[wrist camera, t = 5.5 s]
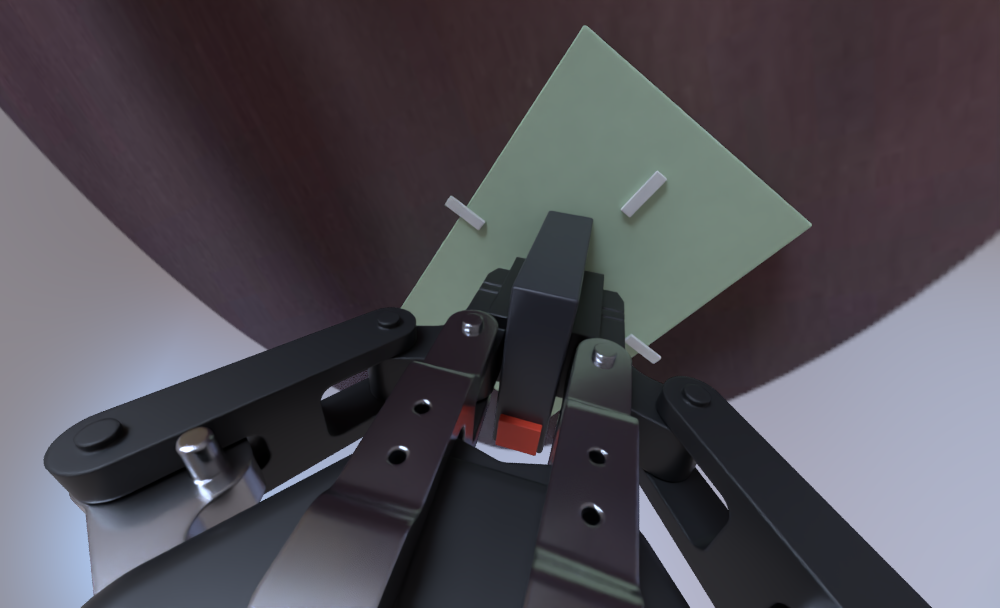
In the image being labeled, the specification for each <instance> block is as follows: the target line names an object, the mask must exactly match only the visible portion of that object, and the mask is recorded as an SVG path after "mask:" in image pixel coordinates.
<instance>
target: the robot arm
mask: <svg viewBox="0 0 1000 608" xmlns="http://www.w3.org/2000/svg"><path fill="white" fill-rule="evenodd" d="M525 259H526V258H521V257H516V259H515V261H514V263H513V265H512V267H511V269H510V270H507V269H503V268H497V269H495V270H494V271H492V272H490V273H488V275H487V277H486V278H485V280H484V281H483V283H482V285H481V286H480V288H479V290H478V291H477V293H476V294H475V296H474V298H473V299H472V301H471V303H470V304H469V306H468V308H467V309H466V310H462V311H459V312H456V313H454V314H452V315H451V316H450V317H449V318H448V320H447V321H446V323H445V325H439V326H417V325H416V318H415V316H414V315H413V314H412V313H411V312H409V311H407V310H405V309H402V308H395V307H388V308H381V309H378V310H375V311H372V312H369V313H366V314H364V315H361V316H358V317H356V318H353V319H350V320H348V321H345V322H342V323H340V324H337V325H334V326H331V327H329V328H326V329H323V330H321V331H318V332H315V333H313V334H310V335H307V336H305V337H302V338H299V339H297V340H294V341H291V342H288V343H286V344H283V345H280V346H278V347H275V348H272V349H270V350H267V351H264V352H262V353H259V354H256V355H254V356H251V357H248V358H245V359H243V360H240V361H238V362H235V363H232V364H229V365H227V366H224V367H221V368H218V369H216V370H213V371H211V372H208V373H205V374H203V375H200V376H197V377H194V378H192V379H189V380H186V381H184V382H181V383H178V384H175V385H173V386H170V387H168V388H165V389H162V390H160V391H157V392H154V393H151V394H149V395H146V396H143V397H140V398H138V399H135V400H133V401H130V402H127V403H124V404H122V405H119V406H116V407H114V408H111V409H108V410H106V411H103V412H100V413H98V414H95V415H93V416H90V417H88V418H86V419H84V420H82V421H80V422H79V423H77V424H75V425H73V426H72V427H71V428H69V429H68V430H66V431H65V432H64V433H62V434H61V435H60V436H59V437H58V438H57V439H56V440H55V441H54V442H53V443H52V444H51V445H50V447H49V448H48V450H47V452H46V453H45V456H44V466H45V468H46V469H47V470H48V471H49V472H50V473H51V474H52V475H53V476H54V477H55V479H57V481H58V482H59V483H60V484H61V485H62V486H63V487H64V488H65V489H66V490H67V491H68V492H69V495H70V497H71V499H72V501H73V502H74V503H75V504H76V505H77V506H78V507H79V508H80V509H81V510H82V511H83V512H84V513H85V514H86V522H87V532H88V542H89V552H90V562H91V572H92V583H93V593H94V596H93V597H92V598H91V599H90V600H89V601H88V602H86V603H85V604H84V605H83V606H82V607H81V608H690V607H689V605H688V603H687V602H686V600H685V599H684V597H683V596H682V594H681V592H680V591H679V589H678V588H677V586H676V585H675V583H674V582H673V580H672V579H671V577H670V575H669V574H668V572H667V571H666V569H665V568H664V566H663V564H662V563H661V561H660V560H659V558H658V557H657V555H656V553H655V552H654V551H653V549H652V547H651V546H650V544H649V543H648V541H647V540H646V538H645V537H644V535H643V534H642V533H641V532H640V530H639V485H640V486H641V488H642V489H643V491H644V493H645V494H646V496H647V497H648V499H649V501H650V502H651V504H652V506H653V507H654V509H655V510H656V512H657V514H658V515H659V517H660V519H661V520H662V522H663V524H664V525H665V527H666V528H667V530H668V532H669V533H670V535H671V537H672V538H673V540H674V541H675V543H676V545H677V546H678V548H679V549H680V551H681V553H682V554H683V556H684V558H685V559H686V561H687V563H688V564H689V566H690V567H691V569H692V571H693V572H694V574H695V576H696V577H697V579H698V580H699V582H700V584H701V585H702V587H703V588H704V590H705V592H706V593H707V595H708V596H709V598H710V600H711V601H712V603H713V605H714V606H715V608H932V607H931V606H930V605H929V604H928V603H927V602H926V601H925V600H924V599H923V598H922V597H921V596H920V595H919V594H918V593H917V592H916V591H915V590H914V589H913V588H912V587H911V586H910V585H909V584H908V583H907V582H906V581H905V580H904V579H903V578H902V577H901V576H900V575H899V574H898V573H897V572H896V571H895V570H894V569H893V568H892V567H891V566H890V565H889V564H888V563H887V562H886V561H885V560H884V559H883V558H882V557H881V556H880V555H879V554H878V553H877V552H876V551H875V550H874V549H873V548H872V547H871V546H870V545H869V544H868V543H867V542H866V541H865V540H864V539H863V538H862V537H861V536H860V535H859V534H858V533H857V532H856V531H855V530H854V529H853V528H852V527H851V526H850V525H849V524H848V523H847V522H846V521H845V520H844V519H843V518H842V517H841V516H840V515H839V514H838V513H837V512H836V511H835V510H834V509H833V508H832V507H831V506H830V505H829V504H828V503H827V502H826V501H825V500H824V499H823V498H822V497H821V496H820V495H819V493H818V492H816V491H815V489H814V488H813V487H812V486H811V485H810V484H809V483H808V482H807V481H805V479H804V478H802V476H801V475H799V473H797V471H796V470H795V469H794V468H792V467H791V465H790V464H789V463H788V462H787V461H786V460H785V459H784V458H783V457H782V456H781V455H780V454H779V453H778V452H777V451H776V450H775V449H774V448H773V447H772V446H771V445H770V444H769V443H768V442H767V441H766V440H765V439H764V438H763V437H762V436H761V435H760V434H759V433H758V432H757V431H756V430H755V429H754V428H753V427H752V426H751V425H750V424H749V423H748V422H747V421H746V420H745V419H744V418H743V417H742V416H741V415H740V414H739V413H738V412H737V411H736V410H735V409H734V408H733V407H732V406H731V405H730V404H729V403H728V402H727V401H726V400H725V399H724V398H723V397H722V396H721V395H720V394H719V393H718V392H717V391H716V390H715V389H713V388H712V387H711V386H709V385H707V384H706V383H704V382H702V381H700V380H697V379H694V378H691V377H685V376H675V377H671V378H669V379H668V380H667V381H665V383H664V384H662V383H660V382H657V381H655V380H653V379H651V378H649V377H647V376H645V375H644V374H642V373H640V372H639V371H638V370H636V369H635V368H634V367H633V366H632V359H631V356H630V355H629V353H628V352H627V351H626V350H625V322H624V321H625V314H624V301H623V300H622V298H621V297H620V295H619V294H618V292H613V291H609V290H604V289H603V286H604V274H600V273H595V272H590V271H584V277H583V282H582V288H581V294H580V299H579V304H578V308H577V312H576V316H575V321H574V325H573V329H572V333H571V337H570V341H569V345H568V349H567V353H566V357H565V361H564V365H563V369H562V373H561V377H560V381H559V385H558V389H557V393H556V397H559V398H563V399H562V405H561V410H560V413H559V417H558V421H557V425H556V430H555V434H554V439H553V443H552V448H551V452H550V457H549V461H548V465H543V464H525V463H506V462H501V461H498V460H496V459H494V458H493V457H491V456H489V455H487V454H486V453H484V452H482V451H480V450H479V449H477V448H475V446H476V443H477V440H478V437H479V434H480V431H481V428H482V425H483V421H484V418H485V415H486V412H487V409H488V406H489V403H490V398H491V393H492V391H493V389H494V386H495V384H496V381H497V382H500V375H501V367H502V359H503V351H504V343H505V336H506V328H507V320H508V312H509V304H510V296H511V288H512V286H513V284H514V282H515V280H516V278H517V276H518V274H519V272H520V269H521V267H522V265H523V263H524V261H525ZM367 369H368V376H369V378H367V379H365V380H363V381H361V382H358V383H356V384H354V385H352V386H350V387H348V388H346V389H344V390H342V391H340V392H338V393H336V394H334V395H332V396H330V397H327V398H326V399H323V400H321V398H322V395H323V394H324V392H325V391H326V390H327V389H328V388H330V387H331V386H333V385H334V384H337V383H339V382H341V381H343V380H345V379H347V378H349V377H352V376H354V375H356V374H358V373H360V372H362V371H364V370H367ZM362 437H363V438H362ZM360 438H362V440H361V441H360V443H359V445H358V446H357V448H356V449H355V451H354V453H353V454H351V455H349V456H347V457H345V458H343V459H341V460H339V461H338V462H336V463H334V464H332V465H330V466H328V467H326V468H324V469H322V470H320V471H318V472H317V473H315V474H313V475H311V476H309V477H307V478H305V479H303V480H302V481H299V482H297V483H296V484H294V485H292V486H290V487H288V488H286V489H284V490H282V491H280V492H278V493H276V494H275V495H273V496H271V497H269V498H267V499H265V500H263V501H261V499H262V497H263V495H264V494H265V493H267V492H269V491H271V490H272V489H274V488H276V487H277V486H279V485H281V484H283V483H284V482H286V481H288V480H289V479H291V478H293V477H295V476H296V475H298V474H300V473H302V472H303V471H305V470H307V469H309V468H310V467H312V466H314V465H315V464H317V463H319V462H320V461H322V460H324V459H326V458H327V457H329V456H331V455H333V454H334V453H336V452H338V451H340V450H341V449H343V448H345V447H346V446H348V445H350V444H352V443H353V442H355V441H357V440H358V439H360ZM696 464H698V466H699V467H700V468H701V469H702V471H703V472H704V473H705V474H706V476H707V477H708V478H709V480H710V481H711V482H712V483H713V485H714V486H715V487H716V489H717V490H718V491H719V492H720V494H721V495H722V497H723V498H724V500H725V502H726V504H727V506H728V509H727V508H726V506H725V505H724V504H723V503H722V501H721V500H720V499H719V497H718V496H717V495H716V494H715V492H714V491H713V490H712V488H711V487H710V486H709V484H708V483H707V482H706V480H705V479H704V478H703V477H702V475H701V474H700V473H699V472H698V470H697V469H696V467H695V466H696ZM260 501H261V502H260Z"/></svg>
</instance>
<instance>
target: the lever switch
mask: <svg viewBox="0 0 1000 608" xmlns="http://www.w3.org/2000/svg"><path fill="white" fill-rule="evenodd" d="M445 205H446V206H447V207H448V208H450V209H451V210H452V211H454V212H455V213H456V214H458V215H459V216H460V217H459V219H458V220H457V222H456V224H455V225H454V227H453V228H452V230H451V231H450V233H449V234H448V236H447V237H446V239H445V241H444V242H443V244H442V245H441V247H440V248H439V250H438V251H437V253H436V254H435V256H434V257H433V259H432V261H431V262H430V264H429V265H428V267H427V268H426V270H425V271H424V273H423V274H422V276H421V278H420V279H419V281H418V282H417V284H416V285H415V287H414V288H413V290H412V291H411V293H410V295H409V296H408V298H407V299H406V301H405V302H404V304H403V305H402V307H401V308H402V309H405V310H407V311H409V312H411V313H412V314H413V315H414V316H415V318H416V325H417V326H439V325H445V323H446V321H447V320H448V318H449V317H450V316H451V315H452V314H454V313H456V312H459V311H462V310H466V309H467V308H468V306H469V304H470V303H471V301H472V299H473V298H474V296H475V294H476V293H477V291H478V290H479V288H480V286H481V285H482V283H483V281H484V280H485V278H486V277H487V275H488V273H490V272H492V271H494V270H495V269H497V268H503V269H507V270H510V269H511V267H512V265H513V263H514V261H515V259H516V257H521V258H526V257H527V255H528V253H529V251H530V249H531V247H532V245H533V243H534V241H535V239H536V237H537V235H538V233H539V230H540V228H541V226H542V224H543V222H544V220H545V218H546V216H547V214H548V212H549V211H556V212H561V213H567V214H573V215H578V216H584V217H589V218H592V219H593V226H592V232H591V237H590V243H589V248H588V254H587V260H586V265H585V271H590V272H595V273H600V274H604V286H603V289H604V290H609V291H613V292H618V294H619V295H620V297H621V298H622V300H623V301H624V314H625V321H624V322H625V350H626V351H627V352H628V353H629V355H630V356H631V358H632V357H633V356H635V355H636V354H637V353H640V354H641V355H642V356H644V357H645V358H646V359H648V360H649V361H650V362H651V363H653V364H654V363H656V362H657V361H659V360H660V359H661V356H660V355H659V354H657V353H656V352H655V351H653V350H652V349H651V348H649V347H648V345H650V344H651V343H652V342H654V341H655V340H657V339H658V338H659V337H661V336H662V335H663V334H665V333H666V332H668V331H669V330H670V329H672V328H673V327H674V326H676V325H677V324H679V323H680V322H681V321H683V320H684V319H685V318H687V317H688V316H689V315H691V314H692V313H694V312H695V311H696V310H698V309H699V308H700V307H702V306H703V305H705V304H706V303H707V302H709V301H710V300H711V299H713V298H714V297H716V296H717V295H718V294H720V293H721V292H722V291H724V290H725V289H727V288H728V287H729V286H731V285H732V284H733V283H735V282H736V281H737V280H739V279H740V278H742V277H743V276H744V275H746V274H747V273H748V272H750V271H751V270H753V269H754V268H755V267H757V266H758V265H759V264H761V263H762V262H764V261H765V260H766V259H768V258H769V257H770V256H772V255H773V254H775V253H776V252H777V251H779V250H780V249H781V248H783V247H784V246H785V245H787V244H788V243H790V242H791V241H792V240H794V239H795V238H796V237H798V236H799V235H801V234H802V233H803V232H805V231H806V230H807V229H809V228H810V227H811V226H812V225H811V223H810V222H809V221H808V220H806V219H805V218H804V217H803V216H802V215H801V214H800V213H799V212H797V211H796V210H795V209H794V208H793V207H792V206H791V205H789V204H788V203H787V202H786V201H785V200H784V199H783V198H782V197H780V196H779V195H778V194H777V193H776V192H775V191H774V190H772V189H771V188H770V187H769V186H768V185H767V184H766V183H764V182H763V181H762V180H761V179H760V178H759V177H758V176H757V175H755V174H754V173H753V172H752V171H751V170H750V169H749V168H747V167H746V166H745V165H744V164H743V163H742V162H741V161H740V160H738V159H737V158H736V157H735V156H734V155H733V154H732V153H730V152H729V151H728V150H727V149H726V148H725V147H724V146H723V145H721V144H720V143H719V142H718V141H717V140H716V139H715V138H713V137H712V136H711V135H710V134H709V133H708V132H707V131H706V130H704V129H703V128H702V127H701V126H700V125H699V124H698V123H696V122H695V121H694V120H693V119H692V118H691V117H690V116H688V115H687V114H686V113H685V112H684V111H683V110H682V109H681V108H679V107H678V106H677V105H676V104H675V103H674V102H673V101H671V100H670V99H669V98H668V97H667V96H666V95H665V94H664V93H662V92H661V91H660V90H659V89H658V88H657V87H656V86H654V85H653V84H652V83H651V82H650V81H649V80H648V79H647V78H645V77H644V76H643V75H642V74H641V73H640V72H639V71H637V70H636V69H635V68H634V67H633V66H632V65H631V64H630V63H628V62H627V61H626V60H625V59H624V58H623V57H622V56H620V55H619V54H618V53H617V52H616V51H615V50H614V49H613V48H611V47H610V46H609V45H608V44H607V43H606V42H605V41H603V40H602V39H601V38H600V37H599V36H598V35H597V34H595V33H594V32H593V31H592V30H591V29H590V28H589V27H588V26H583V27H582V29H581V31H580V32H579V34H578V35H577V37H576V38H575V40H574V41H573V43H572V44H571V46H570V48H569V49H568V51H567V52H566V54H565V55H564V57H563V58H562V60H561V61H560V63H559V65H558V66H557V68H556V69H555V71H554V72H553V74H552V75H551V77H550V78H549V80H548V82H547V83H546V85H545V86H544V88H543V89H542V91H541V92H540V94H539V95H538V97H537V98H536V100H535V102H534V103H533V105H532V106H531V108H530V109H529V111H528V112H527V114H526V115H525V117H524V119H523V120H522V122H521V123H520V125H519V126H518V128H517V129H516V131H515V132H514V134H513V136H512V137H511V139H510V140H509V142H508V143H507V145H506V146H505V148H504V149H503V151H502V153H501V154H500V156H499V157H498V159H497V160H496V162H495V163H494V165H493V166H492V168H491V169H490V171H489V173H488V174H487V176H486V177H485V179H484V180H483V182H482V183H481V185H480V186H479V188H478V190H477V191H476V193H475V194H474V196H473V197H472V199H471V200H470V202H469V203H468V205H467V207H466V206H465V205H464V204H462V203H461V202H460V201H458V200H457V199H456V198H454V197H453V196H452V195H451V196H450V197H449V199H448V200H447V202H446V204H445ZM499 383H500V382H497V381H496V384H495V386H494V389H496V390H497V391H499ZM562 399H563V398H559V397H555V401H554V406H553V410H552V414H551V416H552V415H554V414H555V413H556V412H558V411H559V410H561V405H562Z"/></svg>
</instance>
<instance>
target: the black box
mask: <svg viewBox="0 0 1000 608" xmlns="http://www.w3.org/2000/svg"><path fill="white" fill-rule="evenodd" d="M592 226H593V219H592V218H589V217H584V216H578V215H573V214H567V213H561V212H556V211H549V212H548V214H547V216H546V218H545V220H544V222H543V224H542V226H541V228H540V230H539V233H538V235H537V237H536V239H535V241H534V243H533V245H532V247H531V249H530V251H529V253H528V255H527V257H526V259H525V261H524V263H523V265H522V267H521V269H520V272H519V274H518V276H517V278H516V280H515V282H514V284H513V286H512V288H511V296H510V304H509V312H508V320H507V328H506V336H505V343H504V351H503V359H502V367H501V375H500V383H499V391H498V399H497V407H496V415H495V423H494V431H493V440H495V441H496V445H499V446H503V447H506V448H509V449H513V450H516V451H520V452H523V453H527V454H530V455H533V456H535V455H536V452H537V453H541V452H542V450H543V446H544V442H545V438H546V434H547V430H548V426H549V422H550V418H551V414H552V410H553V406H554V401H555V397H556V393H557V389H558V385H559V381H560V377H561V373H562V369H563V365H564V361H565V357H566V353H567V349H568V345H569V341H570V337H571V333H572V329H573V325H574V321H575V316H576V312H577V308H578V304H579V299H580V294H581V288H582V282H583V277H584V271H585V265H586V260H587V254H588V248H589V243H590V237H591V232H592Z"/></svg>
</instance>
